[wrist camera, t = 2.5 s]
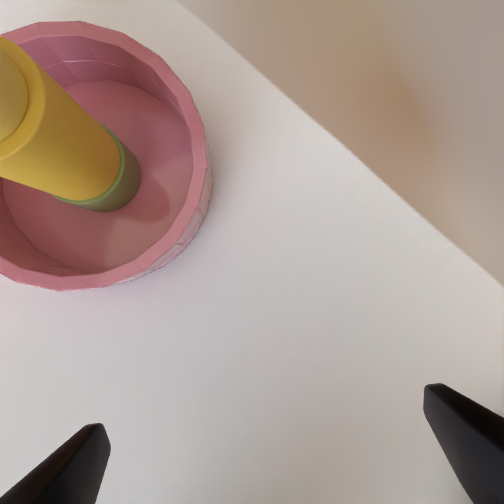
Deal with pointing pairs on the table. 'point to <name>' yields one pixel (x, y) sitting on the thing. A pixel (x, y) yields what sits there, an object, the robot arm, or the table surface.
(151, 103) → the bowl
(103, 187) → the yellow stepped cylinder
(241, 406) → the table surface
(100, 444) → the robot arm
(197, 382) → the table surface
